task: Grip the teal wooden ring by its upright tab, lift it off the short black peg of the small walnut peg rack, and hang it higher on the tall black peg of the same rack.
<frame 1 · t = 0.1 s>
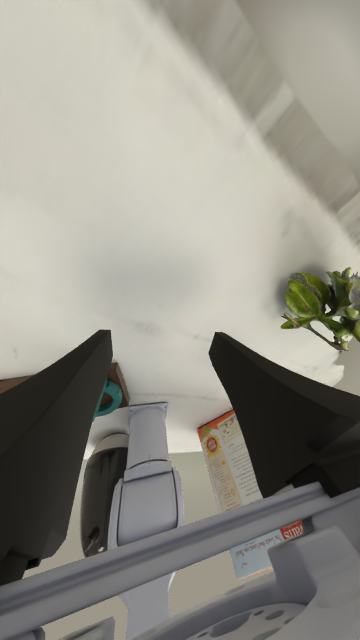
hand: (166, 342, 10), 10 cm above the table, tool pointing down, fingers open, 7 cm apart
peg rack: (65, 392, 23), on the table
ring: (94, 395, 23), point 1 cm above the table, touching peg rack
pump dispenser: (116, 437, 34), on the table
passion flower: (299, 300, 24), on the table
cracker box: (221, 419, 40), on the table
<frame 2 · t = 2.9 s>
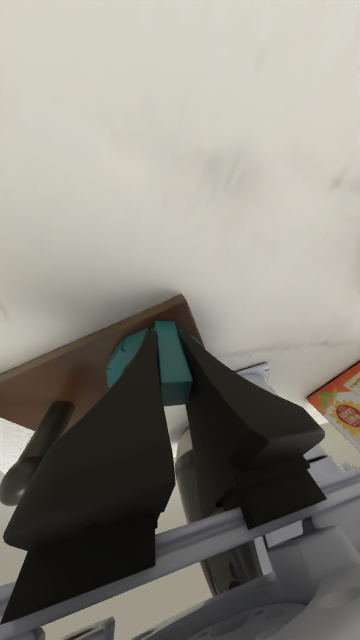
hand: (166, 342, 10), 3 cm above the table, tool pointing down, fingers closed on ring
peg rack: (114, 373, 14), on the table
ring: (159, 365, 13), point 2 cm above the table, touching gripper, peg rack
pump dispenser: (199, 428, 25), on the table
cracker box: (341, 378, 26), on the table
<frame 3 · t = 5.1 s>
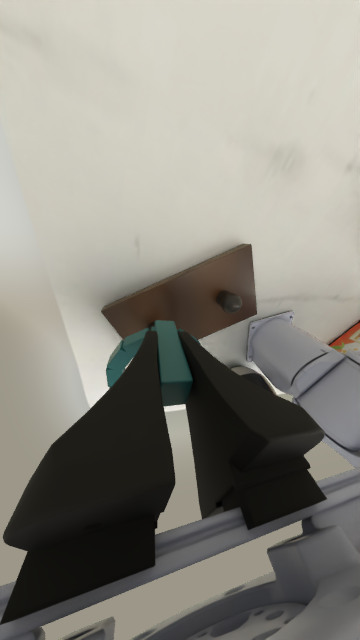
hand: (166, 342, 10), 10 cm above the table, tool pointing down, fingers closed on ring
peg rack: (186, 308, 20), on the table
ring: (159, 365, 13), point 8 cm above the table, touching gripper
pump dispenser: (231, 374, 30), on the table
cracker box: (347, 336, 32), on the table
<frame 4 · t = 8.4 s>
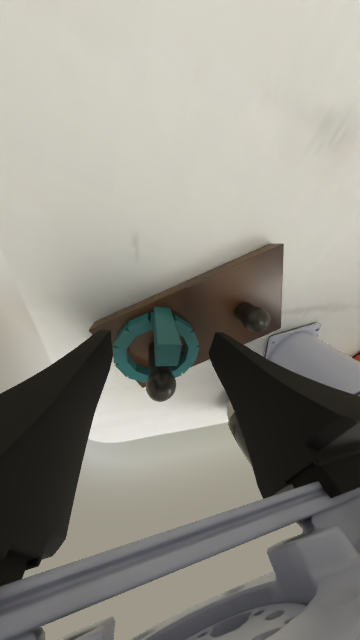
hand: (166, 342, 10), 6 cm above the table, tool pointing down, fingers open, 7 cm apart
peg rack: (196, 322, 16), on the table
ring: (157, 347, 15), point 1 cm above the table, touching peg rack
pump dispenser: (243, 392, 27), on the table
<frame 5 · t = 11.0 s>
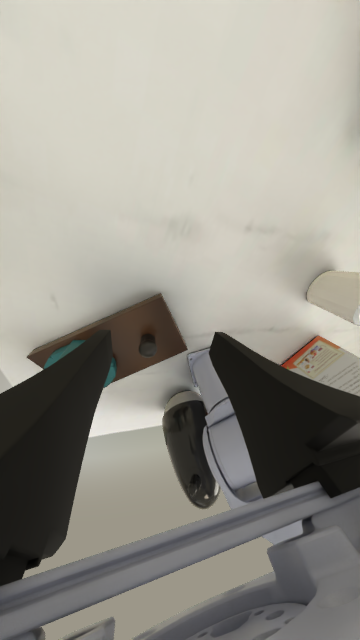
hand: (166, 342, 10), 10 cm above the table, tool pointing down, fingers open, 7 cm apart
peg rack: (118, 346, 21), on the table
ring: (85, 366, 20), point 1 cm above the table, touching peg rack
shot glass: (320, 287, 24), on the table
pump dispenser: (183, 397, 32), on the table
cracker box: (295, 359, 33), on the table
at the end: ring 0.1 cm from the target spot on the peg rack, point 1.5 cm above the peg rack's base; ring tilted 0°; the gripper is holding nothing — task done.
